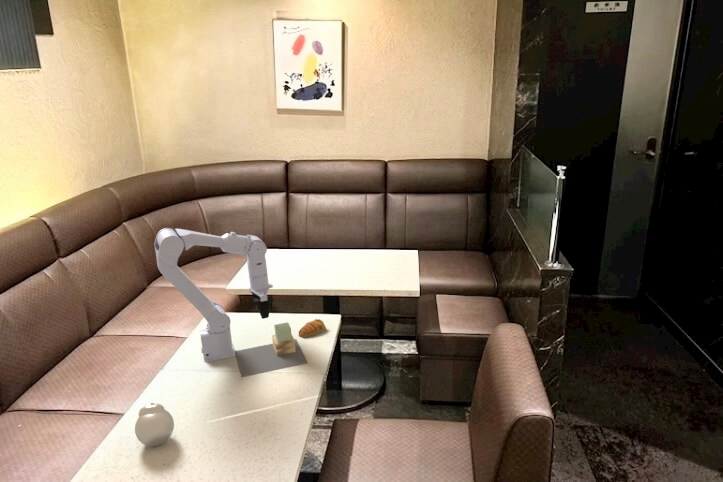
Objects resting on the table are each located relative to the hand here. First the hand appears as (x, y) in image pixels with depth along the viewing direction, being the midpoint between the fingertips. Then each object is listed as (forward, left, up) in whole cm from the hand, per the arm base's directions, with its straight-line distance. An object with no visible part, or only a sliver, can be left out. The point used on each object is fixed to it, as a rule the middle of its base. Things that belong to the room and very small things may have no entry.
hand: (263, 312), depth 174 cm
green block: (+5, -8, -6) cm, 11 cm away
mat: (-1, -11, -10) cm, 15 cm away
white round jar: (-34, -39, -11) cm, 53 cm away
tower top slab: (+4, -8, -8) cm, 12 cm away
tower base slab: (+4, -8, -10) cm, 14 cm away
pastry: (+16, 0, -11) cm, 19 cm away
